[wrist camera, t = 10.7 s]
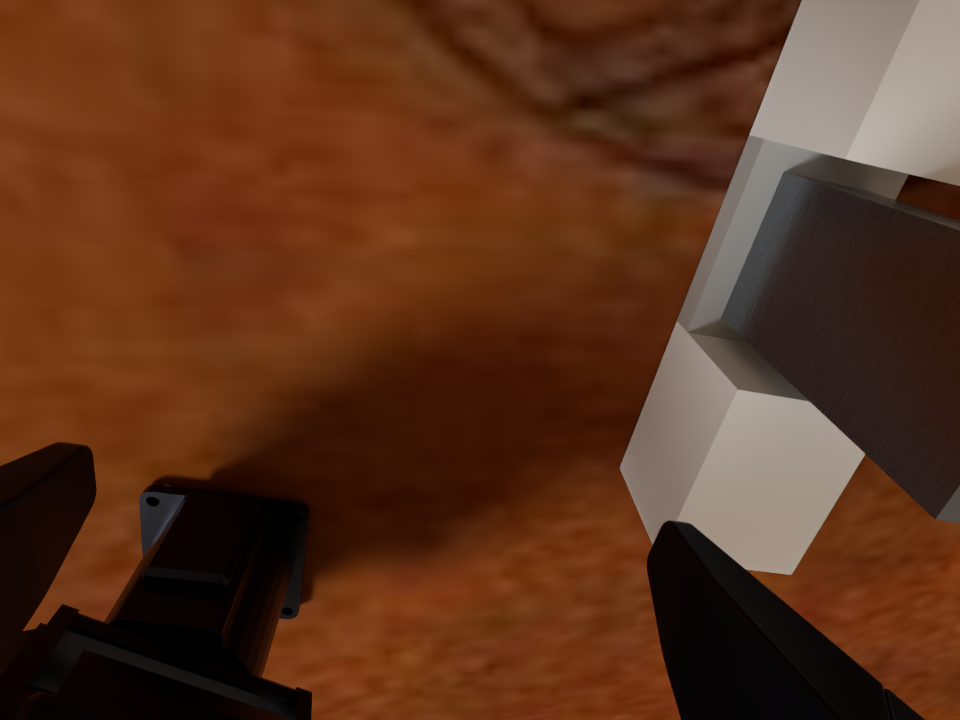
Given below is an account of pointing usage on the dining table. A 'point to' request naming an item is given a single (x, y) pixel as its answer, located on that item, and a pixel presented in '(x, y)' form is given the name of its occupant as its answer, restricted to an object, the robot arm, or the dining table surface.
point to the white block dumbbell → (699, 328)
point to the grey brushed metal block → (863, 324)
